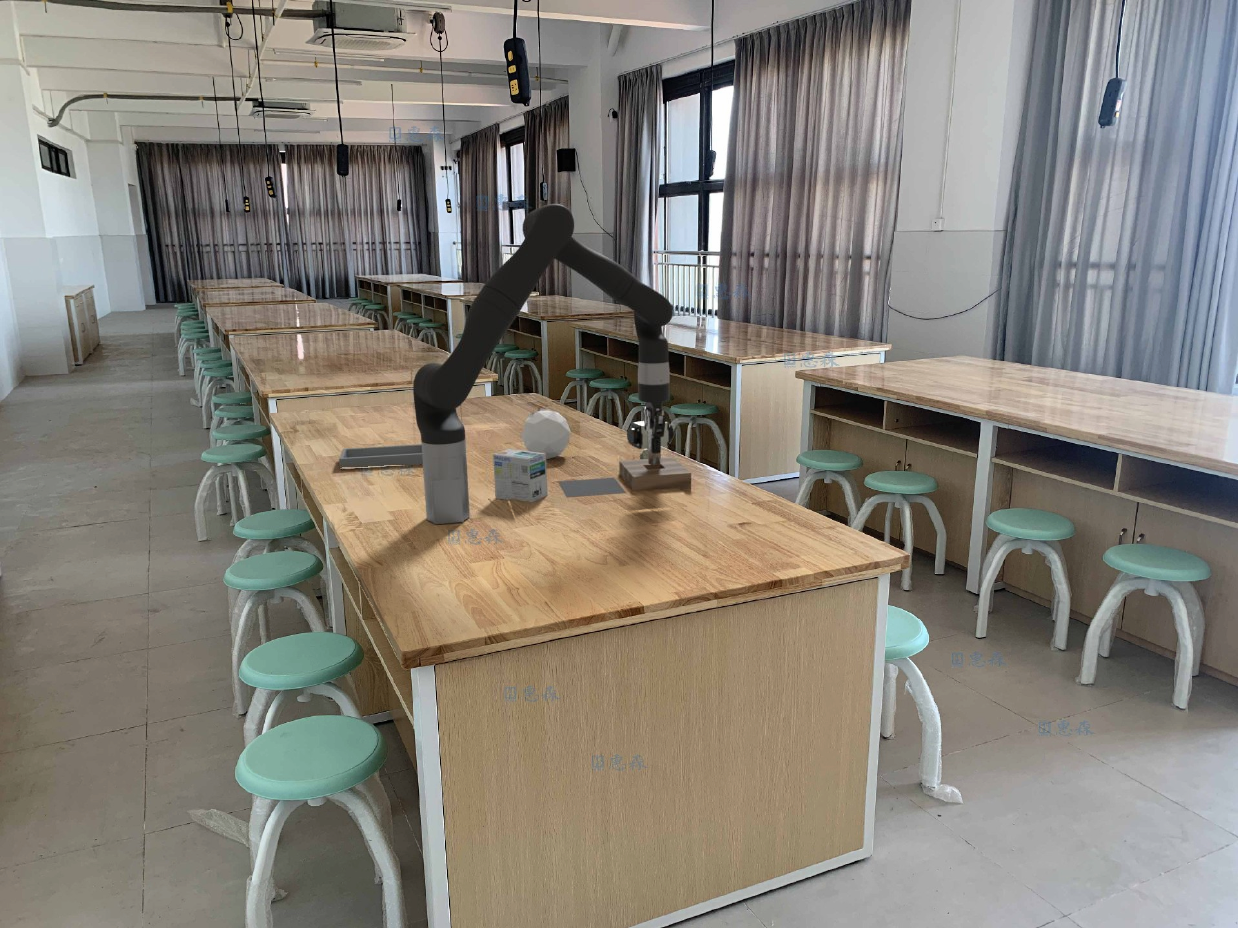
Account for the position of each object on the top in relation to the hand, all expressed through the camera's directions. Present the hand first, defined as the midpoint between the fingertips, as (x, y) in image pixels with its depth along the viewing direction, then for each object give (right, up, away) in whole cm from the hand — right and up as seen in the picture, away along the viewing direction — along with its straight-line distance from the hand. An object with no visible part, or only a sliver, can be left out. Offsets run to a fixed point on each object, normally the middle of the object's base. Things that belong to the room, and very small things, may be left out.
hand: (654, 451), depth 218 cm
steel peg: (0, -3, +1) cm, 3 cm away
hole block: (0, -8, +2) cm, 8 cm away
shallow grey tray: (-72, -3, +26) cm, 76 cm away
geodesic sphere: (-28, -1, +29) cm, 40 cm away
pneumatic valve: (0, -3, +21) cm, 21 cm away
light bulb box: (-31, -11, -9) cm, 34 cm away
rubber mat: (-15, -9, -3) cm, 18 cm away
